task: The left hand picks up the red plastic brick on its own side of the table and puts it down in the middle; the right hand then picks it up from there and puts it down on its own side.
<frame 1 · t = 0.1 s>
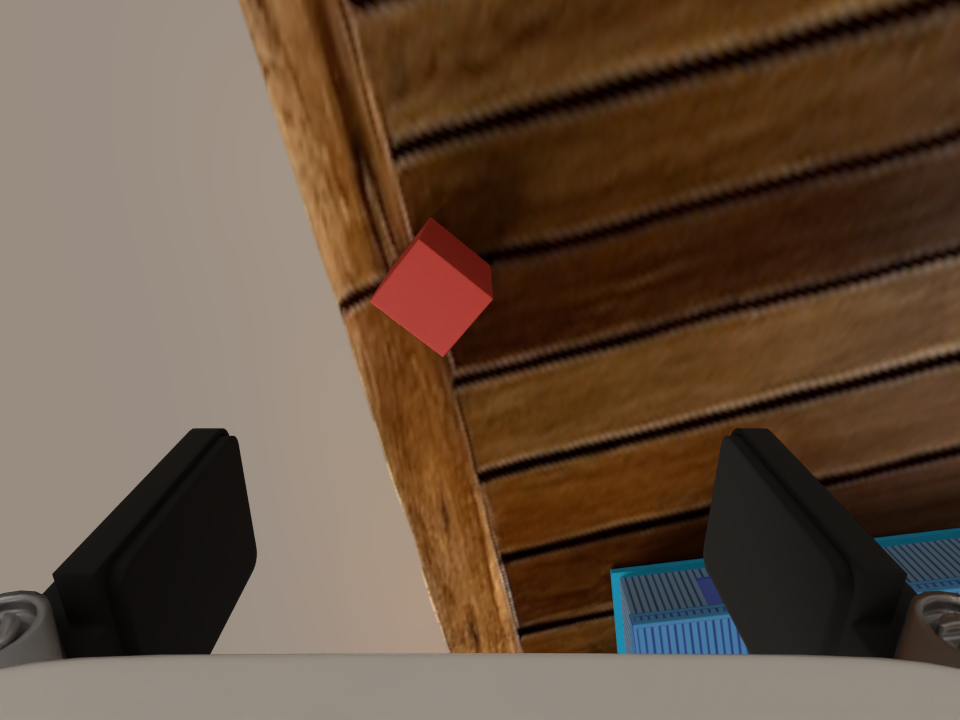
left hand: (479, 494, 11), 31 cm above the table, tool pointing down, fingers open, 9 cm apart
model building: (831, 643, 54), on the table
brick: (440, 267, 41), on the table
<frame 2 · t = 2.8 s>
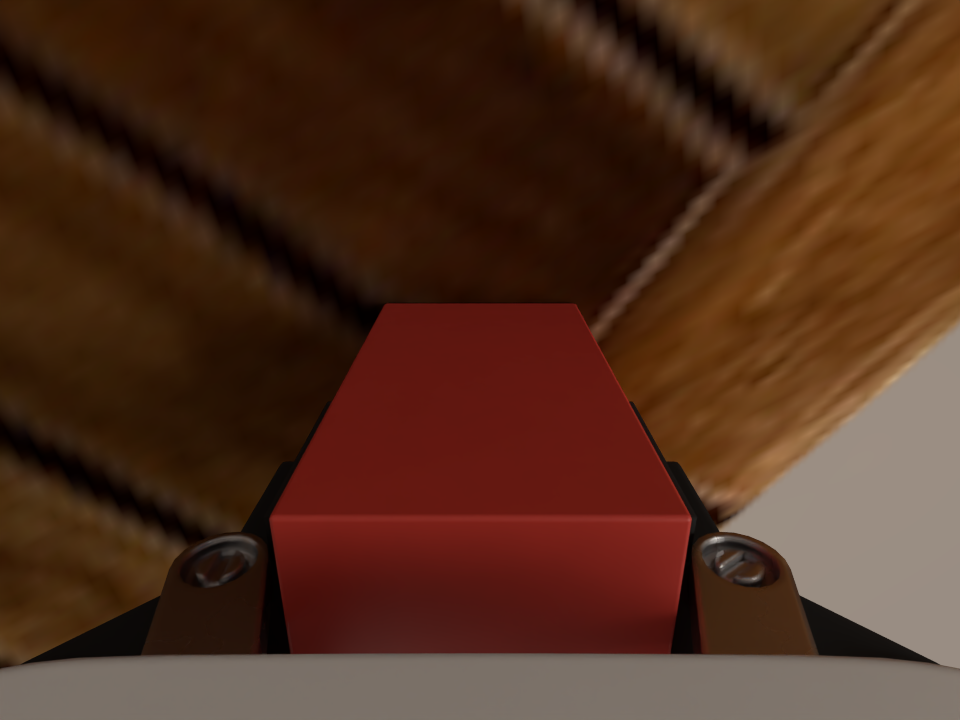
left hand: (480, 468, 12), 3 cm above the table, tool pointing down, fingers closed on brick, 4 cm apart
brick: (480, 402, 15), on the table, touching left hand
when the left hand's fingers open (5 cm above the table, at t = 9.3 s): brick drops 2 cm, on the table.
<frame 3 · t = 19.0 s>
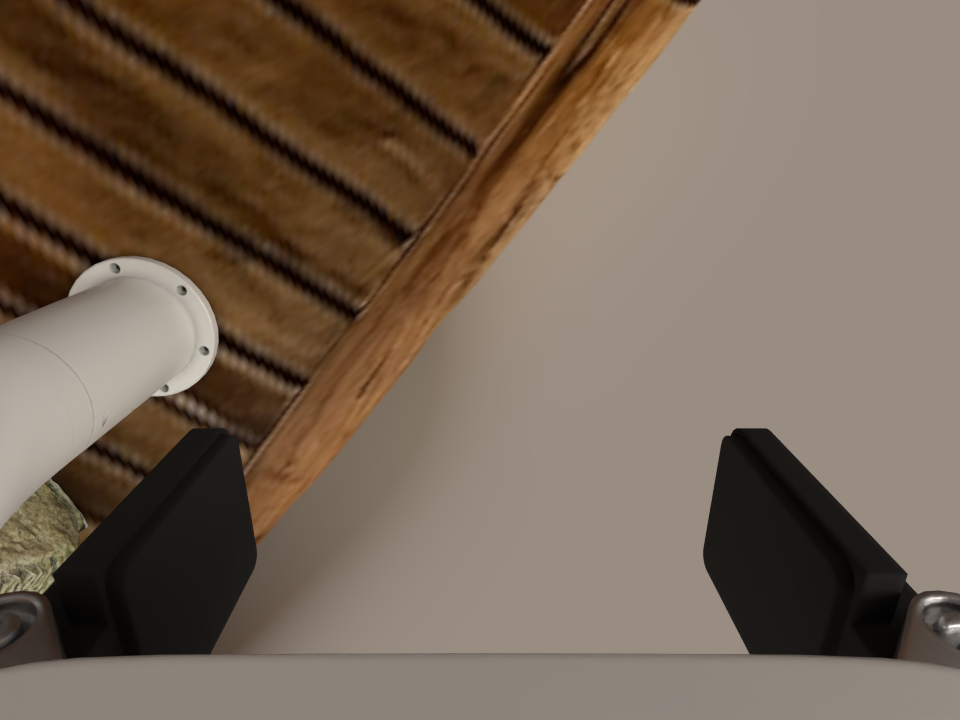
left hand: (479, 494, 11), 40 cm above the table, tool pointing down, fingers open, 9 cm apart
fossil: (21, 484, 58), on the table
when the right hand's fingers open (3 cm above the table, at t = 25.2 s): brick drops 2 cm, on the table.
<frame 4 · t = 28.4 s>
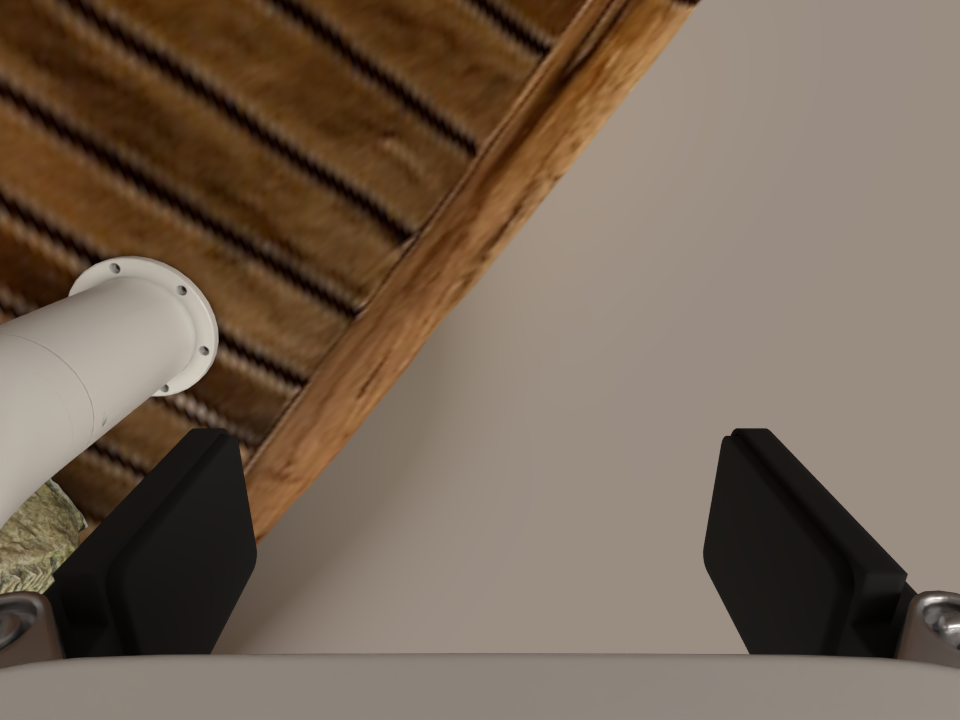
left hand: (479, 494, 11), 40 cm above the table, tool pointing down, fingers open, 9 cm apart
fossil: (21, 484, 58), on the table
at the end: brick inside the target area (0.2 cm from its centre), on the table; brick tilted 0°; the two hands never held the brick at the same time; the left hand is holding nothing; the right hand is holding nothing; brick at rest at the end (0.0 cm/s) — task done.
